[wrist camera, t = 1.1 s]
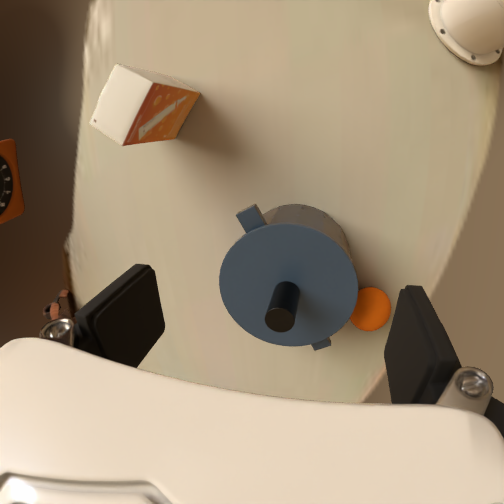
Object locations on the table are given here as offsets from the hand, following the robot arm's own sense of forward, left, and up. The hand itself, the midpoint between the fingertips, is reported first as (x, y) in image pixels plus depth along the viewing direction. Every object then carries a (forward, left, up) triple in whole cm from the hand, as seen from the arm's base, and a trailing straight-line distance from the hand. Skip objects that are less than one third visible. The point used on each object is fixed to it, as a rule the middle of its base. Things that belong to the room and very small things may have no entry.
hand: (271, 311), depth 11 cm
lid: (+7, +9, -21) cm, 24 cm away
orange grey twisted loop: (+62, -1, -31) cm, 69 cm away
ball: (0, +20, -31) cm, 37 cm away
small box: (+12, -19, -31) cm, 38 cm away
